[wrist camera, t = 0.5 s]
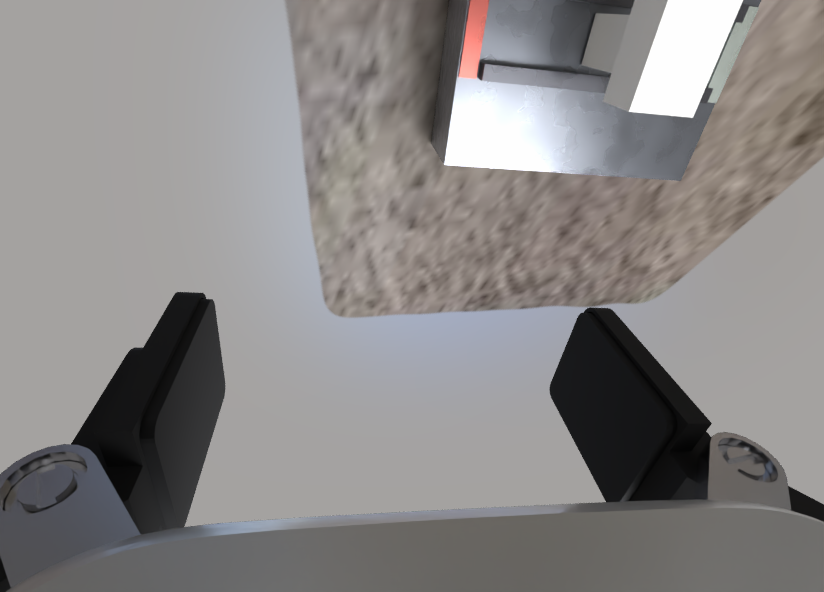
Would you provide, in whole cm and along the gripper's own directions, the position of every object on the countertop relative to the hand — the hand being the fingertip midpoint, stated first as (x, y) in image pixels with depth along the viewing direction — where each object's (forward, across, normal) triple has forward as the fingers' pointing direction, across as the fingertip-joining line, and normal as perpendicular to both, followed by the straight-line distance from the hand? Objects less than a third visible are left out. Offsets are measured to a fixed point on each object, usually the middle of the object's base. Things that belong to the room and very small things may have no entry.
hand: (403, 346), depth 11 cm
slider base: (+30, -16, -7) cm, 34 cm away
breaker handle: (+23, -16, -7) cm, 29 cm away
